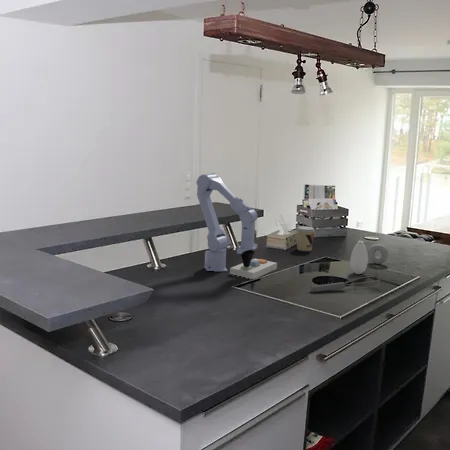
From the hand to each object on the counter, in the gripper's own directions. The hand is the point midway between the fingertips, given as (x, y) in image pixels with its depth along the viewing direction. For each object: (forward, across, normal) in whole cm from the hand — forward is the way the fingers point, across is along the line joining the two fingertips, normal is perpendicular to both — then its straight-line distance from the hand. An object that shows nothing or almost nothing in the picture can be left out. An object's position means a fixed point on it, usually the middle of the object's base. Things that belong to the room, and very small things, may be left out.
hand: (246, 266), depth 241 cm
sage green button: (+3, 0, 0) cm, 3 cm away
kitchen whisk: (+4, +8, -43) cm, 44 cm away
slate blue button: (+2, +7, 0) cm, 7 cm away
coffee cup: (+4, +63, +1) cm, 63 cm away
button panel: (+4, +7, 0) cm, 8 cm away
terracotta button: (+3, +14, 0) cm, 14 cm away
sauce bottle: (+4, +36, -39) cm, 53 cm away
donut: (+4, +60, -40) cm, 72 cm away
